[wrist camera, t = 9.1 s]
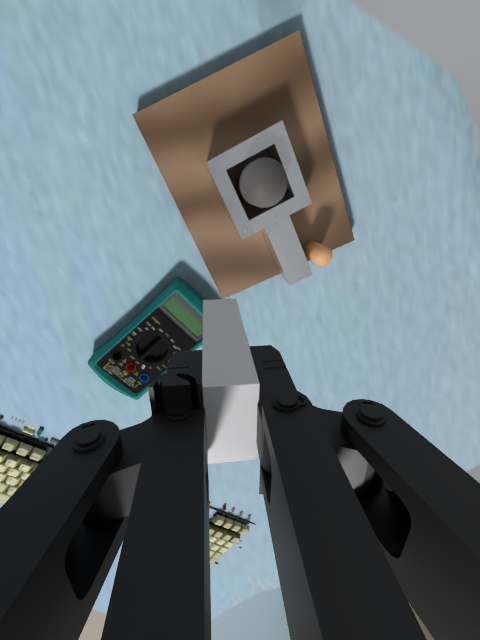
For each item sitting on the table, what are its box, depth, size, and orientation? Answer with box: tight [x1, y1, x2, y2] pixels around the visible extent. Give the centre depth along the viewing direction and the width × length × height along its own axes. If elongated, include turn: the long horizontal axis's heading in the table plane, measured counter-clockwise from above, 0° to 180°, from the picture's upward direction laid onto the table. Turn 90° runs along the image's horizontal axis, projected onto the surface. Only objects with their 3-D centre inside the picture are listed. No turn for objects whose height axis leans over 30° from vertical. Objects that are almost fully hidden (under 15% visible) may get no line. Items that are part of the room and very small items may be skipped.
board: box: [133, 30, 354, 299], centre depth 27 cm, size 18×15×6 cm
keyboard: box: [0, 415, 256, 564], centre depth 44 cm, size 45×15×2 cm, turn 53°
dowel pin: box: [303, 241, 332, 266], centre depth 30 cm, size 2×2×4 cm
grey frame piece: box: [206, 120, 312, 285], centre depth 28 cm, size 13×7×3 cm, turn 26°
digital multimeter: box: [88, 278, 204, 399], centre depth 34 cm, size 7×15×3 cm, turn 131°
